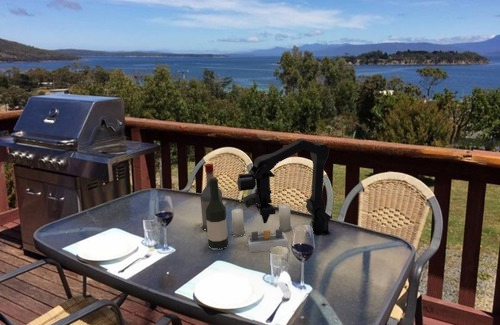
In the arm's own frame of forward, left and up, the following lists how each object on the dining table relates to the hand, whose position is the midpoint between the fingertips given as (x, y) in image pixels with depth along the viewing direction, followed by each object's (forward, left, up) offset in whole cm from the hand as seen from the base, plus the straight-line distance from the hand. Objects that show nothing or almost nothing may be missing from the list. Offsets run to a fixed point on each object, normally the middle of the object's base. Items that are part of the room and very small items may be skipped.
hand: (264, 223), depth 177 cm
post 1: (+11, -9, -8) cm, 16 cm away
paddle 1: (+5, +5, -5) cm, 8 cm away
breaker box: (0, +5, -8) cm, 9 cm away
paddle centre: (0, +5, -5) cm, 7 cm away
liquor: (+21, -19, -8) cm, 30 cm away
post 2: (-10, -9, -8) cm, 16 cm away
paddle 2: (-5, +5, -5) cm, 8 cm away
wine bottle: (+20, +1, -8) cm, 22 cm away
